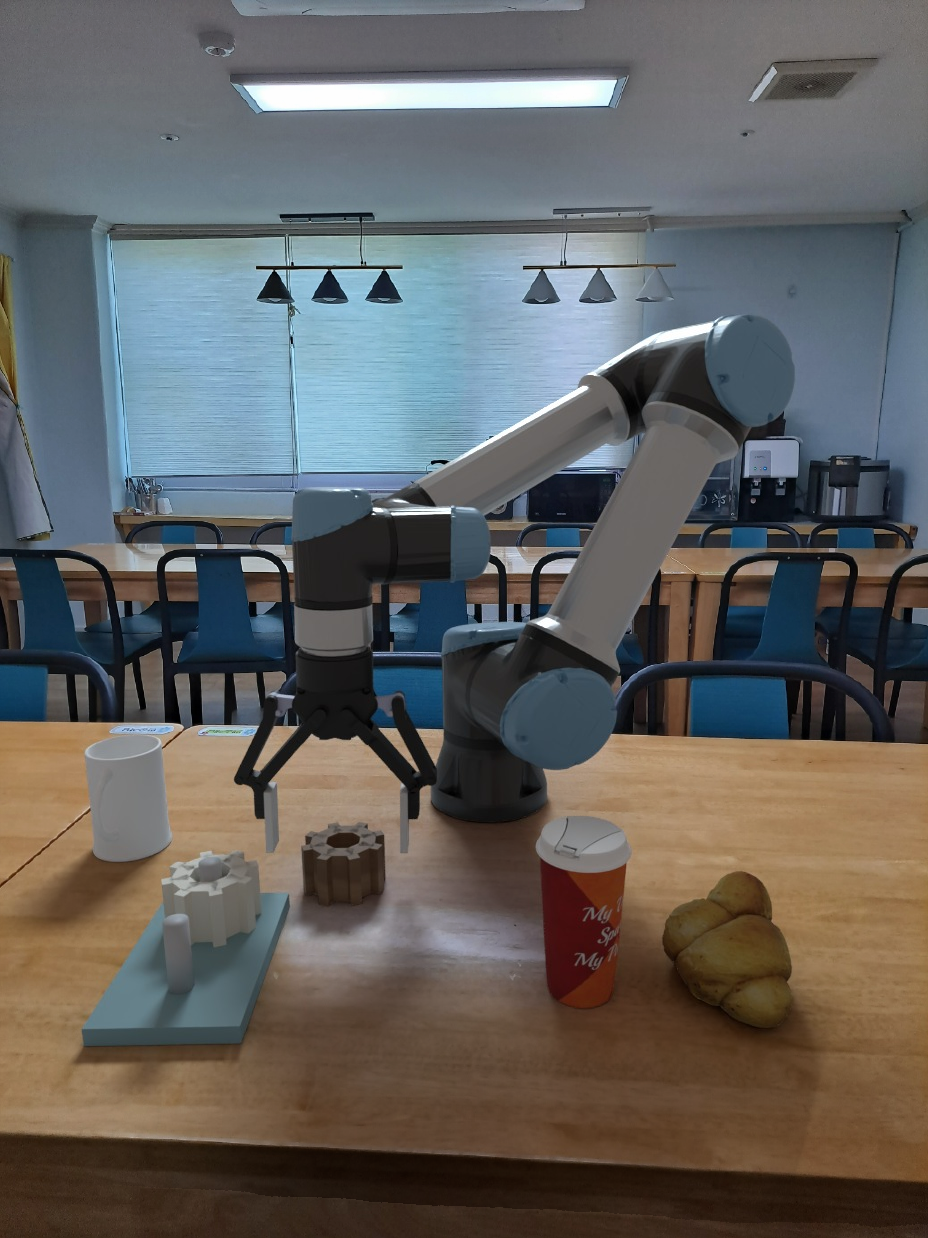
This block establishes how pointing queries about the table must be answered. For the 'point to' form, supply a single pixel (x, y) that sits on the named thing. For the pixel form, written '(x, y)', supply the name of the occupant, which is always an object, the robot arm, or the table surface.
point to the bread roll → (733, 951)
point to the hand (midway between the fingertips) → (338, 847)
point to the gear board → (202, 1004)
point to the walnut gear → (343, 863)
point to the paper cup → (582, 906)
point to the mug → (127, 797)
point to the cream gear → (214, 897)
